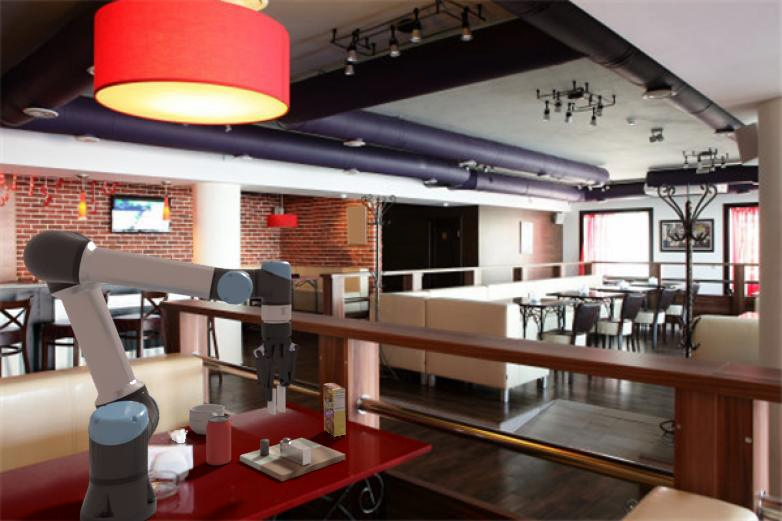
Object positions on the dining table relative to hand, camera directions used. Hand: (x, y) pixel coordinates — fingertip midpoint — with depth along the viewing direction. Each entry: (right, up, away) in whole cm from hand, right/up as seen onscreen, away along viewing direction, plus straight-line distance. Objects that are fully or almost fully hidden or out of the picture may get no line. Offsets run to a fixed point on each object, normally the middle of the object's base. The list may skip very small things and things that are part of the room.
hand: (276, 412), depth 145 cm
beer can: (-18, -16, +10) cm, 26 cm away
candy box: (+11, -16, +34) cm, 40 cm away
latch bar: (+4, -15, +7) cm, 17 cm away
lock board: (+2, -16, +11) cm, 20 cm away
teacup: (-29, -16, +34) cm, 48 cm away
